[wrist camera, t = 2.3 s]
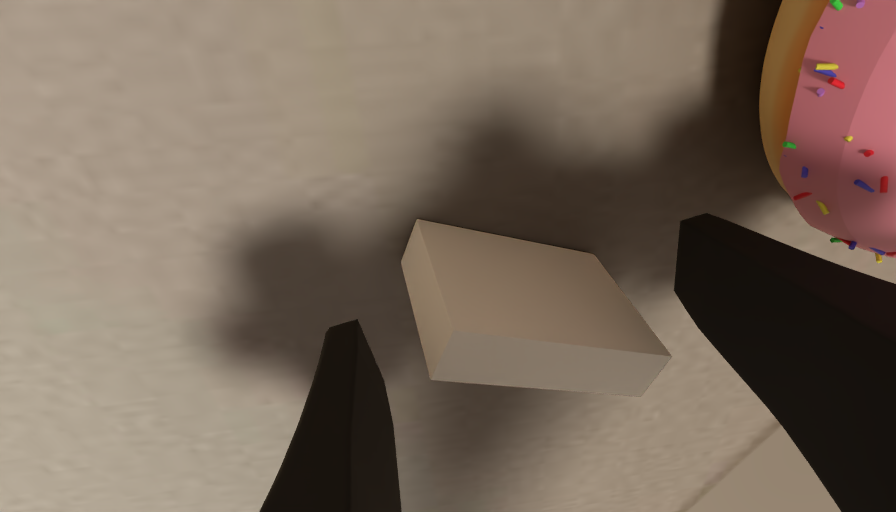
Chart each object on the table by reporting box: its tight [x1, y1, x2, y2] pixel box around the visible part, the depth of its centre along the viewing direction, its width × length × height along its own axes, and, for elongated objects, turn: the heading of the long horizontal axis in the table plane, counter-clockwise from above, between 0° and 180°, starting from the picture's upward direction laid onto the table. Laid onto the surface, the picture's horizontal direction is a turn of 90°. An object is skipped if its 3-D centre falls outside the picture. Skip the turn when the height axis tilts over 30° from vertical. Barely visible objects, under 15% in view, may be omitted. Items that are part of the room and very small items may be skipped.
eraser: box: [401, 219, 672, 397], centre depth 11 cm, size 1×5×4 cm, turn 70°
